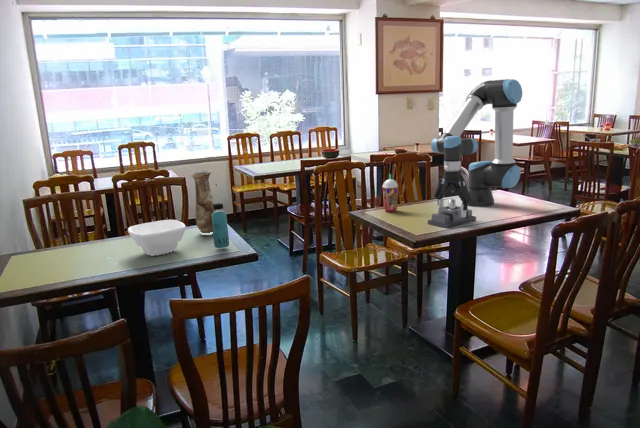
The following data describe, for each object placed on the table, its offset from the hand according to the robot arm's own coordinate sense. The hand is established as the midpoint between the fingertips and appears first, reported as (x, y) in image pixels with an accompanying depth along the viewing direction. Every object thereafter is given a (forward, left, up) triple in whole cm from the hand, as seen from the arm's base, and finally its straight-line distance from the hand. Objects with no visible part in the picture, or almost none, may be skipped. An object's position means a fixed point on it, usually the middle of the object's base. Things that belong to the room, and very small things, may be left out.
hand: (452, 214), depth 233 cm
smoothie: (+3, -39, -4) cm, 39 cm away
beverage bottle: (+100, -39, -4) cm, 107 cm away
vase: (+94, -69, -4) cm, 117 cm away
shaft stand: (0, 0, -4) cm, 4 cm away
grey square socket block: (0, 0, -2) cm, 2 cm away
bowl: (+122, -54, -4) cm, 133 cm away
